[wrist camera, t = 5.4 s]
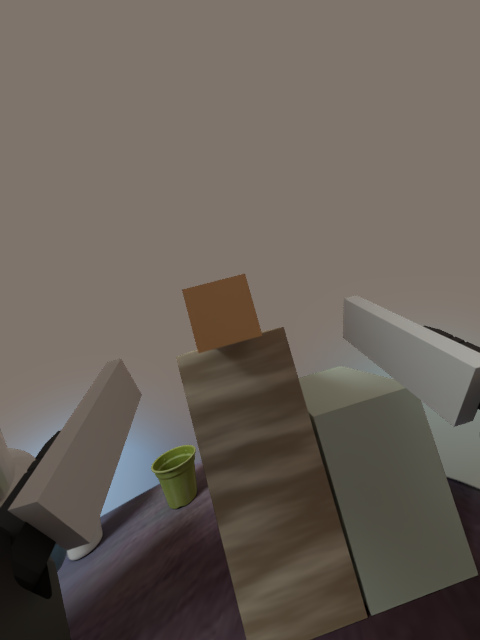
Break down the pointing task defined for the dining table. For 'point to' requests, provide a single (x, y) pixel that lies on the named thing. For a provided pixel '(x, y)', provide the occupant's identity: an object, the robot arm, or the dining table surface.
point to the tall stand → (270, 491)
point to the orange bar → (221, 313)
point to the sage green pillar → (387, 487)
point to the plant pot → (177, 475)
